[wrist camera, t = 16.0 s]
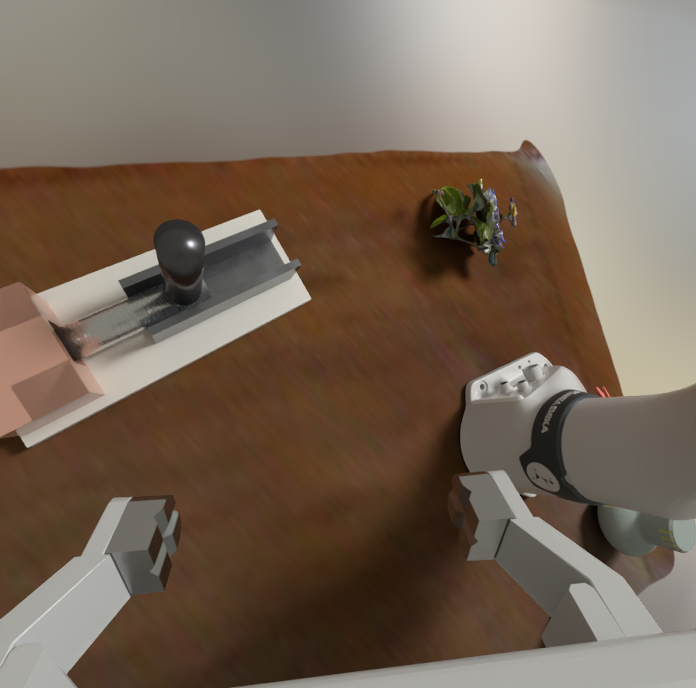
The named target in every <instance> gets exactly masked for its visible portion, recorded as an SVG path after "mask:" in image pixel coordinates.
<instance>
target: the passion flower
mask: <svg viewBox="0 0 696 688" xmlns="http://www.w3.org/2000/svg"><path fill="white" fill-rule="evenodd" d="M481 182H482V179H479V180H478V182H477V184H474V183H470V184H468V185H467V186H468V187H469V188H470V190H471V192H472V194H473V198H474V201H473V204H472V205H471V206H470V207H469V208H468V206H469V204H470V201H471V198H470V196H467V195H466V196H463V194H464V193H463V192H461V191H460V190H458V189H455V188H452V187H445V186H444V187H442V188H441V189H440V190H435V189H434V190H433V191H432V194H433V195H434V194H437V197H436V201H437V203H438V204H439V205H440V206H441V207H442V208H443V209H444V211H445V213H446V215H442V216H441V217H439V218H437V219H436V220H435V221H434V222H433V223H432V225H431V227H430V229H432V228H433V227H435V226H437V225H438V224H440V223H449V225H450V226H449V227H448V228H447V229H445V230H444V232H443V233H442V234H440V235H433V237H444V238H450V239H452V240H461V241H463V242H465V243H467V244H470V245H472V246H474V247H476V248H478V251H482V252H483V253H484V254H485V255H486V254H489V263H490V264H491V265H492V266H495V265H496V264H497V260H496V254H497V253H498V252H499V251H500V250H502V249H503V246H502V244H501V242H504V243H506V242H505V240H504V239H503V235H502V234H503V232H502V230H501V229H500V227H499V224H500V222H501V221H502V220H503V219H506V218H508V219H509V220H510V222H511V225H512V226H513V227H516V221H517V214H518V213H517V210H516V203H515V201H514V198H513V197H512V198H511V199H510V206H509V210H510V212H509V213H508V214H507V215H501V214H500V213H499V212H498V207H497V200H496V197H495V189H494V188H493V189H494V190H493V191H492V192H491V189H489V187H488V190H487V191H486V192H485V194H484V193H483V190H482V185H481ZM474 212H476V217H477V218H478V219H479V220H478V219H477V218H476V217H474V216H473V213H474ZM463 219H467V220H469V221H470V222H471V224H469V225H472V224H473V225H474V226H475V229H476V230H475V231H474V240H475V241H476V243H477V245H474V244H473V243H471V242H468V241H466V240H464V239H462V238H460V237H459V236H458V231H460V230H461V229H464V228H466V227H467V226H469V225H467V226H464V227H462V228H461V227H460V226H459V225H460V222H461V221H462V220H463ZM452 220H455V221H456V222H457V226H456V229H455V230H454V228H453V226H452Z"/></svg>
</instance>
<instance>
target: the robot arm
mask: <svg viewBox="0 0 696 688" xmlns="http://www.w3.org/2000/svg"><path fill="white" fill-rule="evenodd" d="M480 385H481V389H480ZM602 389H603V392H604V394H605V395H604V394H603V392H602V391H601V390H600V389H599V388H598V387H595V390H596V392H597V394H598V396H596V395H593V394H590V393H587V392H586V390H585V388H584V386H583V385H582V383H581V382H580V381H579V379H578V378H577V377H576V376H575V375H574V374H573V373H572V372H571V371H570V370H569V369H567V368H565V367H563V366H552V364H551V363H550V362H549V361H548V360H547V359H546V358H545V357H544V356H542V355H541V354H539V353H529V354H527V355H525V356H523V357H521V358H518V359H516V360H514V361H512V362H510V363H508V364H506V365H504V366H502V367H499V368H497V369H495V370H493V371H491V372H489V373H487V374H485V375H483V376H480V377H478V378H476V379H474V380H472V381H470V382H469V383H468V384H467V385H466V391H465V396H466V408H465V412H464V416H463V419H462V423H461V430H460V443H461V450H462V454H463V458H464V461H465V463H466V466H467V468H468V469H469V471H470V473H458V474H454V475H453V477H452V481H451V483H452V486H453V489H452V490H451V491H450V492H449V493H448V499H447V504H448V512H449V516H450V519H451V522H452V524H453V525H454V526H455V527H456V528H457V529H458V530H459V531H460V533H459V537H458V540H459V543H460V545H461V548H462V550H463V553H464V555H465V558H466V560H467V561H473V560H488V559H495V561H496V562H497V563H498V564H499V565H500V566H501V567H502V568H503V569H504V570H505V571H506V572H507V573H508V574H509V575H510V576H511V577H512V578H513V579H514V580H515V581H516V582H517V583H518V584H519V585H520V586H521V587H522V588H523V589H524V590H525V592H526V593H527V594H528V595H529V596H530V597H531V598H532V599H533V600H534V601H535V602H536V603H537V604H538V605H539V606H540V607H541V608H542V609H543V610H544V611H545V612H546V613H547V614H548V615H549V616H550V617H551V619H550V621H549V623H548V624H547V626H546V628H545V630H544V631H543V634H542V636H541V638H542V640H543V642H544V644H545V646H546V648H539V649H531V650H523V651H515V652H508V653H500V654H492V655H484V656H476V657H468V658H460V659H452V660H445V661H437V662H429V663H421V664H413V665H405V666H397V667H389V668H381V669H374V670H366V671H358V672H350V673H342V674H334V675H326V676H318V677H311V678H303V679H295V680H287V681H279V682H271V683H263V684H255V685H248V686H240V687H232V688H696V629H689V630H681V631H673V632H665V633H663V632H662V631H661V629H660V628H659V626H658V625H657V624H656V622H655V621H654V619H653V618H652V617H651V616H650V614H649V613H648V611H647V610H646V608H645V607H644V606H643V604H642V603H641V601H640V600H639V599H638V597H637V596H636V594H635V593H634V592H633V590H632V589H631V587H630V586H629V585H628V583H627V582H626V581H625V579H624V578H623V577H622V576H620V575H619V574H618V573H616V572H615V571H613V570H612V569H611V568H609V567H608V566H606V565H605V564H604V563H602V562H601V561H599V560H598V559H597V558H595V557H594V556H592V555H591V554H590V553H588V552H587V551H585V550H584V549H582V548H581V547H580V546H578V545H577V544H575V543H574V542H573V541H571V540H570V539H568V538H567V537H566V536H564V535H563V534H561V533H560V532H559V531H557V530H556V529H554V528H553V527H552V526H550V525H549V524H547V523H546V522H544V521H543V520H542V519H540V518H539V517H533V516H532V514H531V513H530V511H529V509H528V508H527V506H526V505H525V503H524V501H523V500H522V498H521V496H520V495H519V494H521V495H523V496H527V497H535V496H536V495H544V496H552V497H560V498H563V499H566V500H571V501H575V502H579V503H580V504H585V505H595V506H602V505H606V504H607V505H611V506H615V507H620V508H624V509H628V510H632V511H637V512H641V513H645V514H650V515H654V516H658V517H663V518H667V519H671V520H691V519H695V518H696V383H695V384H693V385H691V386H688V387H686V388H683V389H680V390H676V391H672V392H668V393H662V394H654V395H641V396H625V397H610V396H609V394H608V392H607V391H606V389H605V387H602ZM175 503H176V502H175V500H174V497H173V495H161V496H139V497H122V498H113V499H112V500H111V501H110V502H109V503H108V505H107V507H106V509H105V511H104V512H103V514H102V516H101V518H100V520H99V522H98V524H97V526H96V528H95V530H94V532H93V534H92V535H91V537H90V539H89V541H88V543H87V545H86V547H85V549H84V551H83V553H82V555H81V557H74V558H73V559H72V560H71V561H69V562H68V563H67V564H66V565H65V566H63V567H62V568H61V569H60V570H59V571H58V572H56V573H55V574H54V575H53V576H52V577H50V578H49V579H48V580H47V581H46V582H44V583H43V584H42V585H41V586H40V587H39V588H37V589H36V590H35V591H34V592H33V593H31V594H30V595H29V596H28V597H27V598H26V599H24V600H23V601H22V602H21V603H20V604H18V605H17V606H16V607H15V608H14V609H12V610H11V611H10V612H9V613H8V614H7V615H5V616H4V617H3V618H2V619H1V620H0V688H77V687H76V685H75V684H74V683H73V682H72V681H71V679H70V678H69V677H68V676H67V673H68V672H69V670H70V669H71V668H72V667H73V666H74V664H75V663H76V662H77V661H78V660H79V658H80V657H81V656H82V655H83V654H84V652H85V651H86V650H87V649H88V648H89V646H90V645H91V644H92V643H93V642H94V640H95V639H96V638H97V637H98V636H99V634H100V633H101V632H102V631H103V630H104V628H105V627H106V626H107V625H108V624H109V622H110V621H111V620H112V619H113V618H114V616H115V615H116V614H117V613H118V612H119V610H120V609H121V608H122V607H123V605H124V604H125V603H126V602H127V601H128V599H129V598H130V595H134V594H142V593H150V592H158V591H164V590H165V587H166V584H167V581H168V577H169V574H170V571H171V567H172V563H171V560H170V557H169V556H170V555H171V554H172V553H173V552H174V551H175V550H176V549H177V547H178V543H179V540H180V533H181V519H180V515H179V513H178V512H176V511H175V510H174V506H175Z"/></svg>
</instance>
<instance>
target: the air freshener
mask: <svg viewBox="0 0 696 688" xmlns="http://www.w3.org/2000/svg"><path fill="white" fill-rule="evenodd" d="M597 514H598V521H599V525H600V528H601V530H602V532H603V534H604V536H605V538H606V539H607V541H608V542H609V543H610V544H611V545H612V546H613V547H614V548H615V549H617V550H618V551H619V552H621V553H623V554H625V555H628V556H635V557H637V556H642V555H645V554H648V553H649V552H651V551H652V550H654V549H655V548H656V547H657V546H660V547H664V548H667V549H671V550H674V551H678V552H681V553H686V552H688V551H690V550H691V549H692V548H693V546H694V544H695V541H696V525H695V522H694V519H691V520H671V519H667V518H663V517H658V516H654V515H650V514H645V513H641V512H637V511H632V510H628V509H624V508H620V507H615V506H611V505H607V504H606V505H602V506H598V508H597Z"/></svg>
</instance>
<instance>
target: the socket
mask: <svg viewBox="0 0 696 688" xmlns="http://www.w3.org/2000/svg"><path fill="white" fill-rule="evenodd" d="M60 326H62V325H61V323H60V322H59V320H58V318H57V317H56V315H55V314H54V312H53V310H52V309H51V307H50V306H49V304H48V302H47V301H45V300H44V299H43V298H41V297H40V296H38V295H37V294H36V293H34V292H33V291H32V290H30V289H29V288H27V287H26V286H25V285H23V284H22V283H21V282H18V283H15V284H12V285H9V286H7V287H4V288H1V289H0V439H1V438H7V437H14V436H20V435H26V434H30V433H32V432H34V431H36V430H38V429H40V428H41V427H43V426H45V425H47V424H49V423H51V422H53V421H55V420H57V419H59V418H61V417H63V416H65V415H67V414H69V413H71V412H73V411H75V410H77V409H79V408H81V407H83V406H85V405H86V404H88V403H90V402H92V401H94V400H96V399H98V398H100V397H102V396H104V395H105V393H104V392H103V390H102V388H101V387H100V385H99V384H98V382H97V380H96V379H95V377H94V376H93V374H92V373H91V371H90V369H89V368H88V366H87V365H86V363H85V361H84V360H83V359H81V360H79V361H76V362H74V361H73V359H72V358H71V356H70V355H69V353H68V352H67V350H66V348H65V347H64V345H63V344H62V342H61V340H60V339H59V337H58V336H57V334H56V333H55V331H54V329H55V328H58V327H60Z"/></svg>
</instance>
